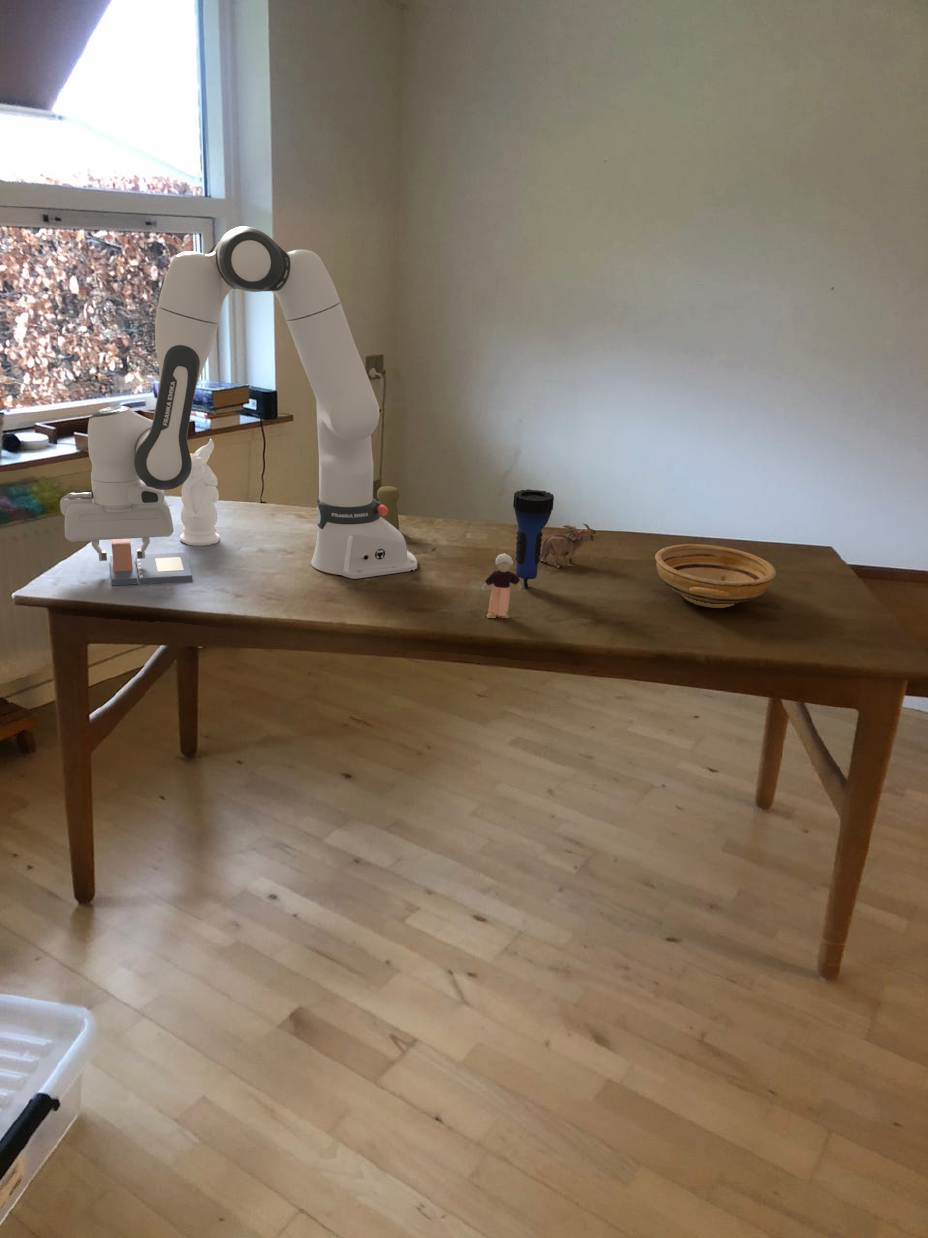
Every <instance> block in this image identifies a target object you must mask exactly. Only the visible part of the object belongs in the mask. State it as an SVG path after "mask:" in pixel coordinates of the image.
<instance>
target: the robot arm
mask: <svg viewBox="0 0 928 1238" xmlns="http://www.w3.org/2000/svg"><path fill="white" fill-rule="evenodd" d="M160 290H161V291H160V294H159V298H158V303H157V307H156V308H157V310H156V313H155V314H156V316H155V324H154V325H155V326H154V343H155V345H154V346H155V351H156V357H157V363H158V370H159V371H158V372H159V378H158V379H159V382H158V391H157V395H156V396H157V397H156V400H155V401H156V402H155V408H154V414H153V418H152V419H150V418H147V417H145V416H144V415H141V414H139V413H138V412H136V411H134V410H133V409H132V408H130V407H128V406H126V405H114V406H107V407H104V408H101V409H98V410H96V411H95V412H93V413H92V415H91V416H90V417H89V419H88V425H87V446H88V448H87V449H88V456H89V459H90V461H91V473H90V480H91V491H90V492H77V493H75V492H70V493H69V492H68V493H67V494H66V495H64V496H62V497H61V498H60V501H59V507H60V509H59V510H60V513H61V514H62V516H64V537H65V538H66V540H67V541H69V542H85V541H90V542H91V547H92V548H93V549H94V550H95V552H96V553H97V554H98V559H99V560H98V561H99V562H107V561H108V556H107V550H106V549H101V546H100V541H102V540H103V541H105V540H107V541H108V540H110V541H111V540H114V539H130V540H131V539H141V540H142V541H141V542H142V545H141V547H139V548H136V555H137V559H145V555H146V554H145V553H146V552H145V551H146V550H147V548H148V547H149V545H150V543H151V542H150V541H151V540H150V539H151V538H164V537H165V538H167V537H171V536H172V535H173V533H174V525H173V518H172V514H171V513H172V512H171V510H170V507H169V503H168V502H167V500H166V499H165V491H168V490H173V489H176V488H178V487H180V486H181V485H182V486H183V483H184V482H185V481H186V480H187V478H188V477H189V475H190V472H191V468H192V462H191V456H190V450H189V445H188V432H189V428H190V426H189V425H190V420H191V414H192V410H193V405H194V399H195V395H196V394H195V393H196V389H197V385H198V382H199V380H200V377H201V375H202V372H203V370H204V368H205V365H206V362H207V361H208V358H209V356H210V353H211V351H212V348H213V345H214V342H215V338H216V335H217V332H218V327H219V321H220V317H221V311H222V308H223V305H224V302H225V300H226V297H227V296H228V295H229V294H230V293H231V292H232V291H234V290H239V291H245V292H252V293H256V292H257V293H259V292H260V293H261V292H272V293H273V294H274V296H275V297H276V300H277V301H278V303H279V305H280V307H281V310H282V313H283V316H284V318H285V322H286V325H287V327H288V330H289V332H290V335H291V337H292V340H293V343H294V346H295V349H296V352H297V354H298V357H299V359H300V362H301V365H302V368H303V369H304V372H305V374H306V376H307V380H308V382H309V384H310V385H309V386H310V388H311V390H312V392H313V395H314V397H315V400H316V427H317V429H316V430H317V431H316V432H317V445H318V462H319V463H318V464H319V468H318V471H319V473H318V474H319V475H318V476H319V477H318V478H319V479H318V481H319V483H318V484H319V485H318V486H319V487H318V488H319V489H318V490H319V492H318V495H319V496H318V498H317V500H316V501H317V502H316V514H315V515H316V524H317V536H316V543H315V546H314V547H315V548H314V553H313V556H312V559H311V561H310V564H311V566H312V567H313V568H314V569H316V570H318V571H320V572H323V573H326V574H332V575H339V576H343V577H346V578H348V579H354V580H355V579H363V578H364V579H365V578H371V577H376V576H377V577H379V576H384V575H386V576H387V575H391V574H398V573H406V572H411V570H413V571H416V570H415V569H418V560H417V558H416V556H415V555H414V554H413V553H411V552H410V551H409V550H408V547H407V542H406V539H405V537H404V534H403V533H402V532H401V531H399V530H400V529H399V530H397V529H396V528H395V527H394V526H392V525H391V524H390V523H389V522H387V521H386V520H385V519H383V518H382V517H381V516H385V515H387V513H388V508H387V507H386V506H385V505H382V504H381V503H380V502H379V500H376V499H375V498H373V494H374V493H373V491H374V458H373V449H372V448H373V446H372V434H373V433H374V432H375V430H376V429H377V427H378V424H379V421H380V406H379V403H378V400H377V397H376V394H375V392H374V389H373V386H372V384H371V381H370V378H369V375H368V373H367V371H366V368H365V366H364V363H363V360H362V357H361V356H360V353H359V350H358V348H357V345H356V343H355V341H354V338H353V334H352V331H351V329H350V325H349V323H348V320H347V317H346V314H345V312H344V309H343V308H344V307H343V305H342V302H341V299H340V297H339V294H338V292H337V289H336V287H335V284H334V281H333V280H332V278H331V276H330V274H329V271H328V269H327V268H326V266H325V264H324V263H323V260H322V259H321V257H320V256H319V255H318V254H317V253H315V252H314V251H313V250H309V249H294V250H291V251H285V250H284V249H283V248H282V247H281V246H280V245H278V244H277V243H276V242H275V240H274V239H272V237H270V236H269V235H268V234H266V233H265V232H264V231H261V230H260V229H258V228H255V227H252V226H247V225H246V226H242V225H241V226H236V227H234V228H232V229H230V230H229V231H227V232H226V233H224V235H223V236H222V237H221V238H220V239H219V240H218V242H217V243H216V244H215V245H214V246H213V247H212V248H211V249H210V250H209V251H208V252H207V253H202V252H197V251H193V250H192V251H191V250H190V251H183V252H180V253H178V254H176V255H174V257H173V258H172V260H171V262H170V264H169V267H168V269H167V271H166V275H165V278H164V280H163V283H162V287H161V289H160Z"/></svg>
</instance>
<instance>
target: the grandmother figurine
mask: <svg viewBox="0 0 928 1238" xmlns="http://www.w3.org/2000/svg"><path fill="white" fill-rule="evenodd" d="M513 564H514V561H513V559H512V556H510V555H509V554H507V553H501V554H500V553H499V554H497V557H496V558H495V565H496V568H497V570H495V571H493V572H492V573H491V574H490V575H489V576H488V577H487V578H486V579H485V581H484V583H483V585H482V586H481V589H480V590H481V591H482V592H487V589H488V588H489V587H490V586H491V585H492V588H491V592H490V597H489V603H488V610H487V611H488V613H487V615H486V616H487V617H488V618H496V617H499V618H500V617H501V618H508V617H509V618H510V615H509V614H508V611H509V606H510V605H509V604H510V599H511V598H510V597H511V585H510V584H513V585H515V587H516V588H515V589H516V590H518V591H519V590H521V589H522V585H521V582H520V580H521V578H519V577H517V575H516V573H514V572H511V571H510V569H511V567H512V566H513ZM488 618H487V619H488ZM501 618H500V619H501ZM509 618H508V619H509ZM496 619H497V618H496Z"/></svg>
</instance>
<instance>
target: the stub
mask: <svg viewBox="0 0 928 1238" xmlns="http://www.w3.org/2000/svg"><path fill="white" fill-rule="evenodd" d="M110 541H111V550H112V551H111V552H112V555H109V563H110V575H111V577H110V578H111V585H112V586H123V585H124V586H126V585H127V586H128V585H137V584H138V575H137V570H136V569H137V568H136V561H135V557H134V554H132V545H131V538H130V539H110Z"/></svg>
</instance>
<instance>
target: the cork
mask: <svg viewBox="0 0 928 1238" xmlns="http://www.w3.org/2000/svg"><path fill="white" fill-rule="evenodd" d="M376 497H377V499H378V500H377V501H378V502H380V503H381V504H382V505H385V506H386V507H387V508H388V513H387V515H385V516H381V517H382V518H383V519H385V520H386V521H387V522H389V523H390V524H391V525H392V526H394V527H395V528H396V529H397V530H400V521H399V511H398V500H399V498H400V491H399V490H398V488H397V487H394V486H390V485H387V486H386V485H385V486H381V487H379V488H378V490H377V492H376Z"/></svg>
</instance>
